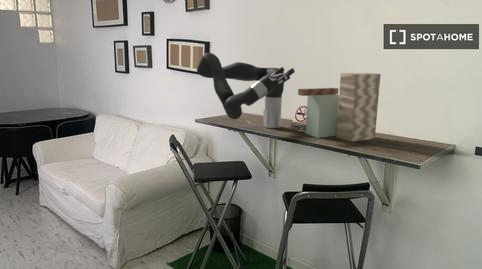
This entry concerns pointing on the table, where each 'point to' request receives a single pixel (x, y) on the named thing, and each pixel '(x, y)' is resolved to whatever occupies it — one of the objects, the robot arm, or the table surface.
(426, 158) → the table surface
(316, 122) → the short pedestal
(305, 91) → the bar
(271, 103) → the robot arm
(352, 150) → the table surface
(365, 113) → the tall stand
